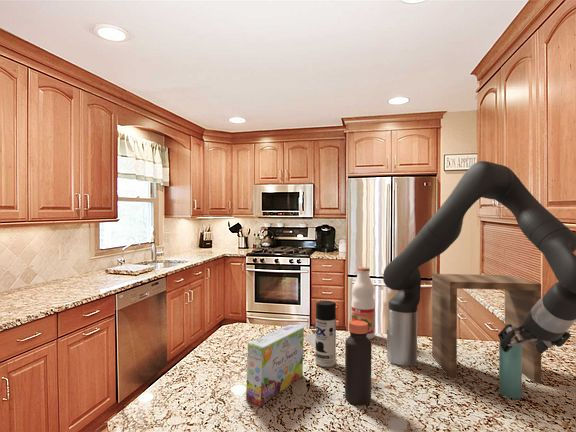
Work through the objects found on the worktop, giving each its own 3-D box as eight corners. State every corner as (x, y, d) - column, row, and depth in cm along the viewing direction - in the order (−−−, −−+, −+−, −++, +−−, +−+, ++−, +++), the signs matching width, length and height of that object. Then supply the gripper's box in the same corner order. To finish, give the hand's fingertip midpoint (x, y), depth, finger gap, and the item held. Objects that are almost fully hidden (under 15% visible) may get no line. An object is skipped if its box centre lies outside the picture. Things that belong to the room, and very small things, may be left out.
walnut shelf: (449, 378, 104) (450, 281, 104) (432, 357, 120) (432, 273, 120) (541, 382, 102) (541, 283, 102) (510, 360, 118) (510, 275, 118)
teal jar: (505, 398, 92) (505, 345, 92) (495, 389, 97) (495, 339, 98) (526, 399, 92) (526, 346, 92) (514, 390, 97) (514, 339, 97)
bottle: (354, 407, 87) (355, 328, 87) (340, 395, 93) (340, 320, 93) (376, 402, 90) (377, 325, 90) (361, 390, 96) (361, 318, 96)
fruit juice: (379, 336, 141) (379, 267, 142) (366, 341, 135) (366, 270, 135) (360, 331, 148) (360, 265, 149) (346, 335, 142) (347, 267, 142)
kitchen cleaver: (295, 327, 151) (318, 325, 152) (296, 330, 151) (318, 327, 152) (308, 348, 127) (335, 345, 128) (309, 351, 127) (335, 348, 128)
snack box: (262, 407, 87) (263, 347, 87) (245, 401, 90) (245, 342, 90) (304, 376, 105) (304, 326, 105) (288, 371, 108) (288, 323, 108)
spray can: (311, 363, 114) (311, 302, 114) (323, 357, 119) (324, 299, 119) (327, 369, 109) (328, 306, 109) (339, 363, 114) (340, 302, 114)
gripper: (575, 303, 81) (543, 336, 92) (511, 301, 82) (487, 334, 93) (593, 333, 76) (557, 364, 87) (524, 331, 77) (497, 362, 88)
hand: (521, 349), depth 90 cm, fingers open, 8 cm apart
